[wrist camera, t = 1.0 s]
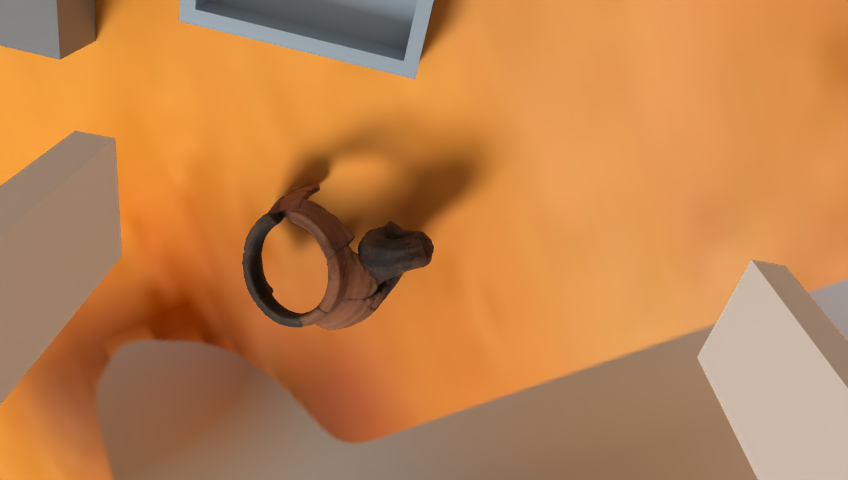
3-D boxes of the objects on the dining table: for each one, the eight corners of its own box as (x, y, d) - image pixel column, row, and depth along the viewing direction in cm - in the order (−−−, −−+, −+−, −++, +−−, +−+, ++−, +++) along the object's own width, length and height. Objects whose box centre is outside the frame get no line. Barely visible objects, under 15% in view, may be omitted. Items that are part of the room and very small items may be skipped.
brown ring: (330, 318, 48) (256, 356, 40) (293, 196, 47) (211, 212, 40) (474, 287, 42) (418, 324, 35) (433, 148, 41) (367, 156, 34)
